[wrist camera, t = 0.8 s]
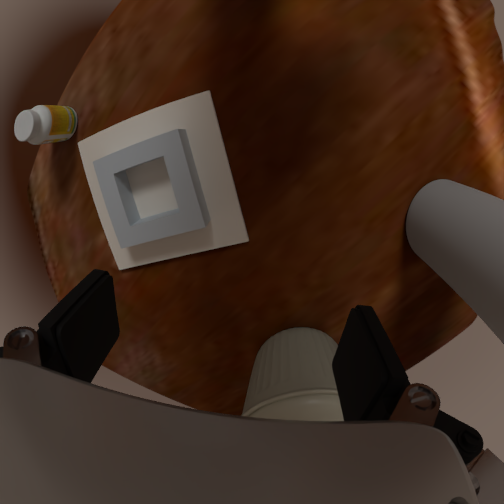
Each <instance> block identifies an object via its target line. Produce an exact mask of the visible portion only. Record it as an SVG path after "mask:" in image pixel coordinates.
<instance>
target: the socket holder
mask: <svg viewBox="0 0 504 504" xmlns="http://www.w3.org/2000/svg"><path fill="white" fill-rule="evenodd" d="M78 147H79V151H80V154H81V158H82V162H83V166H84V169H85V173H86V176H87V180H88V183H89V186H90V190H91V193H92V196H93V199H94V202H95V205H96V209H97V212H98V214H99V217H100V220H101V223H102V226H103V229H104V232H105V234H106V237H107V240H108V242H109V245H110V248H111V250H112V253H113V255H114V258H115V260H116V263H117V265H118V268H119V270H122V269H126V268H131V267H135V266H140V265H144V264H148V263H153V262H157V261H162V260H166V259H171V258H175V257H180V256H184V255H189V254H193V253H198V252H202V251H207V250H211V249H216V248H220V247H225V246H230V245H234V244H239V243H243V242H248V241H249V238H248V234H247V230H246V226H245V222H244V218H243V215H242V211H241V207H240V203H239V199H238V195H237V192H236V188H235V184H234V180H233V176H232V173H231V169H230V165H229V161H228V157H227V153H226V150H225V146H224V142H223V138H222V134H221V130H220V127H219V123H218V119H217V115H216V111H215V108H214V104H213V100H212V96H211V92H210V91H205V92H202V93H199V94H195V95H192V96H189V97H186V98H183V99H180V100H177V101H174V102H171V103H168V104H166V105H163V106H160V107H157V108H155V109H152V110H149V111H147V112H144V113H142V114H139V115H137V116H134V117H132V118H130V119H127V120H125V121H123V122H120V123H118V124H116V125H114V126H111V127H109V128H107V129H105V130H103V131H101V132H98V133H96V134H94V135H92V136H90V137H88V138H86V139H84V140H82V141H80V142H78Z"/></svg>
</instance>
